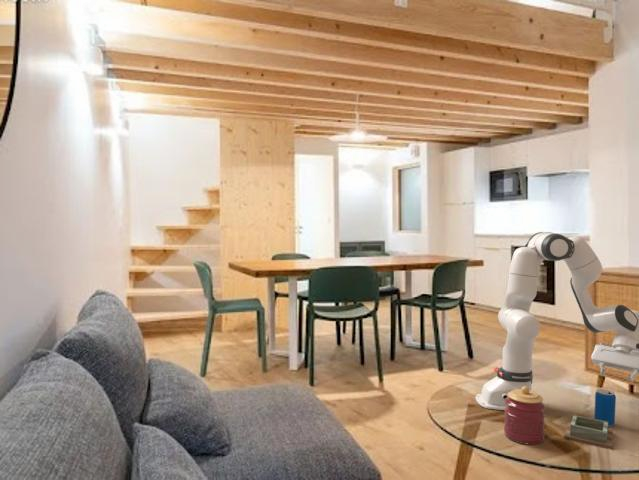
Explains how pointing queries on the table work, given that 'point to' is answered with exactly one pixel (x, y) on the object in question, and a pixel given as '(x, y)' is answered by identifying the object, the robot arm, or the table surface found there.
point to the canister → (524, 416)
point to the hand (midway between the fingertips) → (615, 377)
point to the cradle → (589, 431)
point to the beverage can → (605, 406)
